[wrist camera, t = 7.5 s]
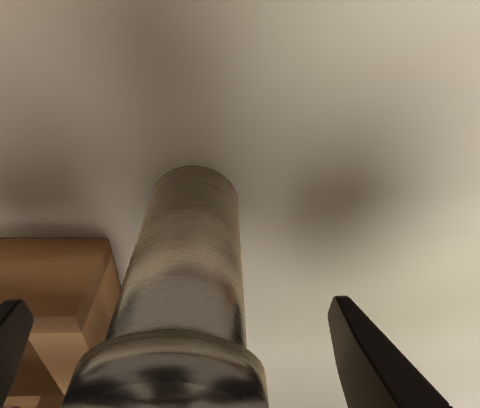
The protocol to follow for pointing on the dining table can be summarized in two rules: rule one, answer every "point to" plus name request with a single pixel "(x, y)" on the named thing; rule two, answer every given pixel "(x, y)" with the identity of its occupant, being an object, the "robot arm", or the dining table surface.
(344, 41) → the dining table surface
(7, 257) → the dock block
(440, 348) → the dining table surface
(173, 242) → the peg
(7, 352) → the robot arm
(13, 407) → the decorative heart
